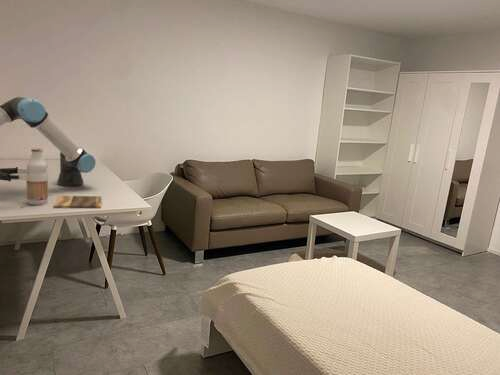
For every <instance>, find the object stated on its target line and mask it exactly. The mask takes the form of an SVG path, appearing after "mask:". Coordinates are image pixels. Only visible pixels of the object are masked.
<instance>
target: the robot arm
mask: <svg viewBox="0 0 500 375" xmlns="http://www.w3.org/2000/svg"><path fill="white" fill-rule="evenodd" d="M18 120H22V121H23V122H24V123H25V124H26V125H27V126H29V128H31V129H36V130H37V131H38V132H39V133H40V134H41V135H43V137H44V138H45V139H46V140H48V141H49V143H51V144H52V145H53V146H54V147H55V148H56V149H57V150H58V151H59V152H60V153H59V160H60V161H59V163H60V164H59V165H60V166H59V170H60V171H59V175H58V178H57V180H56V184H57V185H59V186H62V187H80V186H83V185H84V179H83V175H82V174H83V173H84V174H87V173H90V172H92V171H93V170H94V168H95V167H96V161H97V160H96V158H95V156H94V155H92V154H90V153H88V152H87V151H86V150H85V149H84V148H83V147H81V146H77V145H76V144H75V143H74V141H72V140H71V139H70V138H69V137H68V136H67V135H66V134H65V132H63V131H62V130H61V129H60V128H59V127H58V126H57V125H56V124H55V123H54V122H53V121H52V120H51V119H50V118H49V113H48V112H47V111H46V108H45V106H44V104H42V102H41V101H39V100H37V99H35V98H29V97H22V96H17V97H14V98H12V99H9V100H8V101H6V102H4V103H2V104H1V105H0V127H1V126H4V124H6V123H12V122H14V121H18ZM27 174H28V170H27V168H19V167H18V166H16V167H7V168H5V167H4V168H3V167H2V168H1V167H0V180H1V181H7V182H12V180H13V181H27Z"/></svg>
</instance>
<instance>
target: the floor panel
mask: <svg viewBox="0 0 500 375" xmlns="http://www.w3.org/2000/svg"><path fill="white" fill-rule="evenodd" d="M101 208H102V196H101V195H99V196H95V195H94V196H91V195H89V196H88V195H58V196H57V197H56V199H55V201H54V203H53V209H101Z"/></svg>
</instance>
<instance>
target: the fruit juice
mask: <svg viewBox="0 0 500 375" xmlns="http://www.w3.org/2000/svg"><path fill="white" fill-rule="evenodd" d="M43 150H44V149H43V148H38V147H37V148H36V147H33V148H31V155H30V158H29V160H28V162H27V163H26V169H27V170H28V174H27V180H26V203H27V204H29V205H37V206H39V205H40V206H41V205H45V204H48V202H49V184H48V183H49V182H48V181H49V178H48V173H47V170H48V163H47V162H46V161H45V160H46V159H45V158H44V155H43Z"/></svg>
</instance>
